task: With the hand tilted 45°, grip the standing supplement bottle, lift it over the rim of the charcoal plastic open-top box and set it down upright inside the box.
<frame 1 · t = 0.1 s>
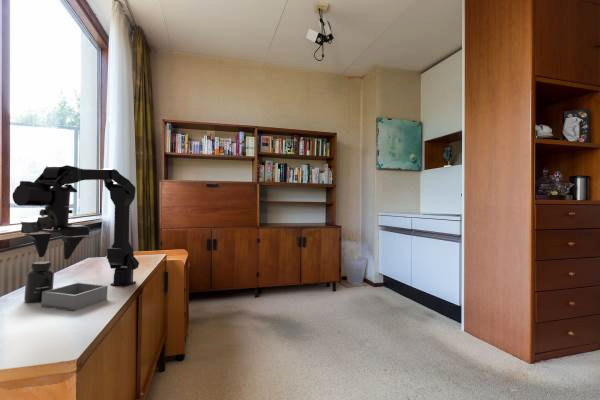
hand: (53, 258, 90), 15 cm above the sideboard, tool pointing down, fingers open, 9 cm apart
open box: (75, 302, 94), on the sideboard
supplement bottle: (38, 300, 96), on the sideboard
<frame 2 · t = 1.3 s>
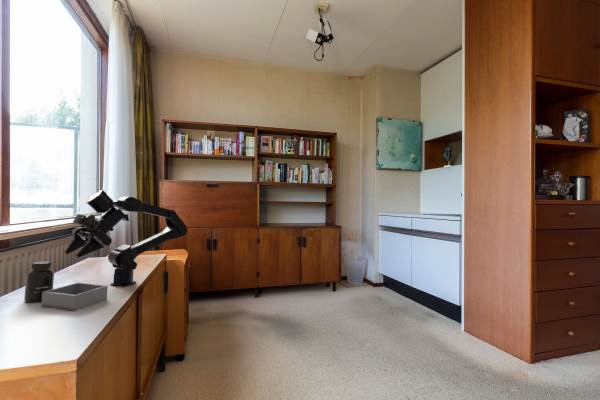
hand: (71, 254, 103), 13 cm above the sideboard, tool tilted 45°, fingers open, 9 cm apart
nothing on the sideboard moved.
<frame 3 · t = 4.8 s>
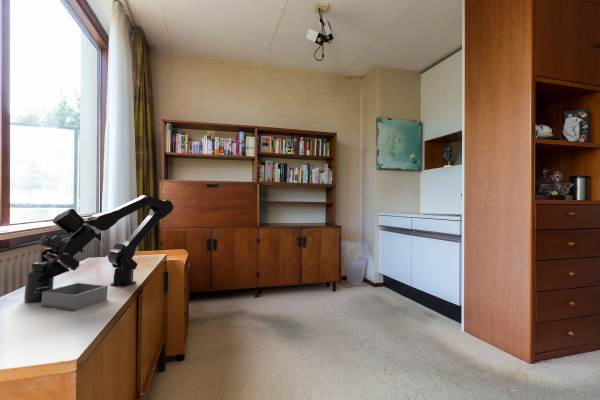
hand: (34, 279, 95), 7 cm above the sideboard, tool tilted 45°, fingers closed on supplement bottle, 7 cm apart
supplement bottle: (38, 300, 96), on the sideboard, touching gripper
when the fingers open (9 cm above the sideboard, at t = 9.0 s): supplement bottle drops 1 cm, resting on open box.
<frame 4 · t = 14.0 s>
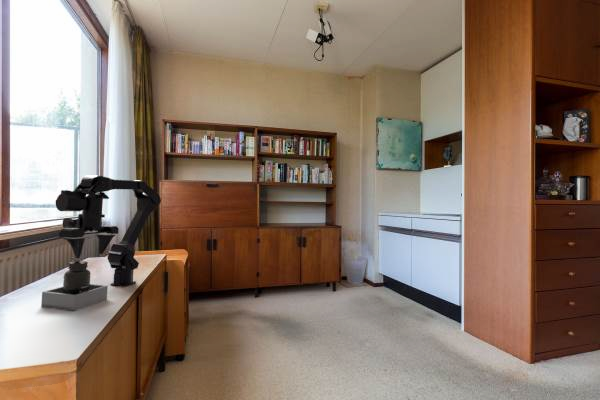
hand: (89, 256, 104), 13 cm above the sideboard, tool pointing down, fingers open, 9 cm apart
supplement bottle: (75, 300, 94), point 1 cm above the sideboard, touching open box
at the end: supplement bottle inside the target area on the open box (0.1 cm from its centre), point 0.6 cm above the open box's base; supplement bottle tilted 0°; the gripper is holding nothing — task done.
